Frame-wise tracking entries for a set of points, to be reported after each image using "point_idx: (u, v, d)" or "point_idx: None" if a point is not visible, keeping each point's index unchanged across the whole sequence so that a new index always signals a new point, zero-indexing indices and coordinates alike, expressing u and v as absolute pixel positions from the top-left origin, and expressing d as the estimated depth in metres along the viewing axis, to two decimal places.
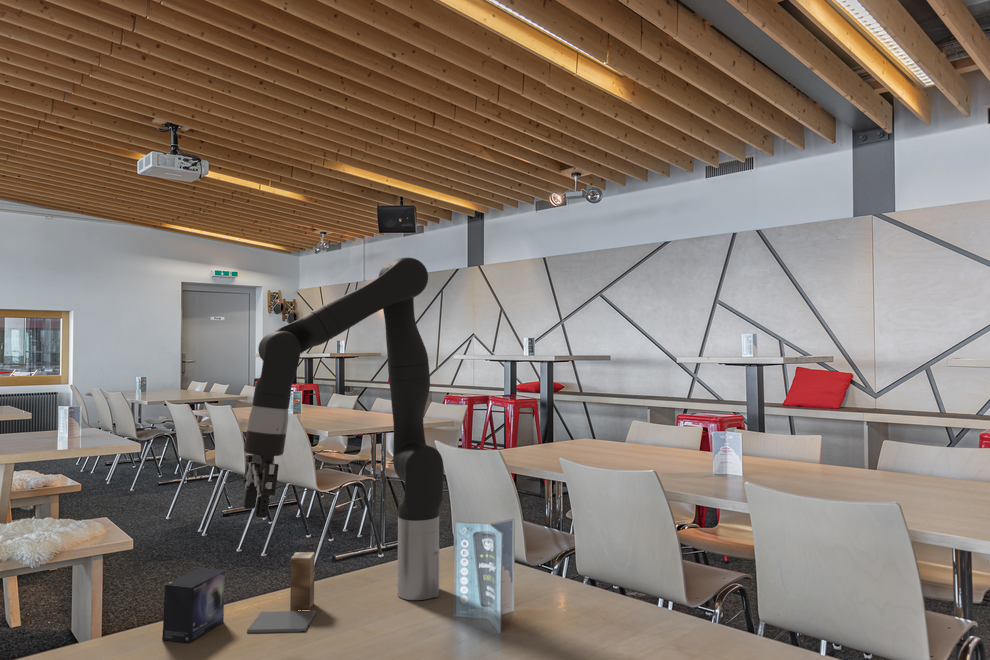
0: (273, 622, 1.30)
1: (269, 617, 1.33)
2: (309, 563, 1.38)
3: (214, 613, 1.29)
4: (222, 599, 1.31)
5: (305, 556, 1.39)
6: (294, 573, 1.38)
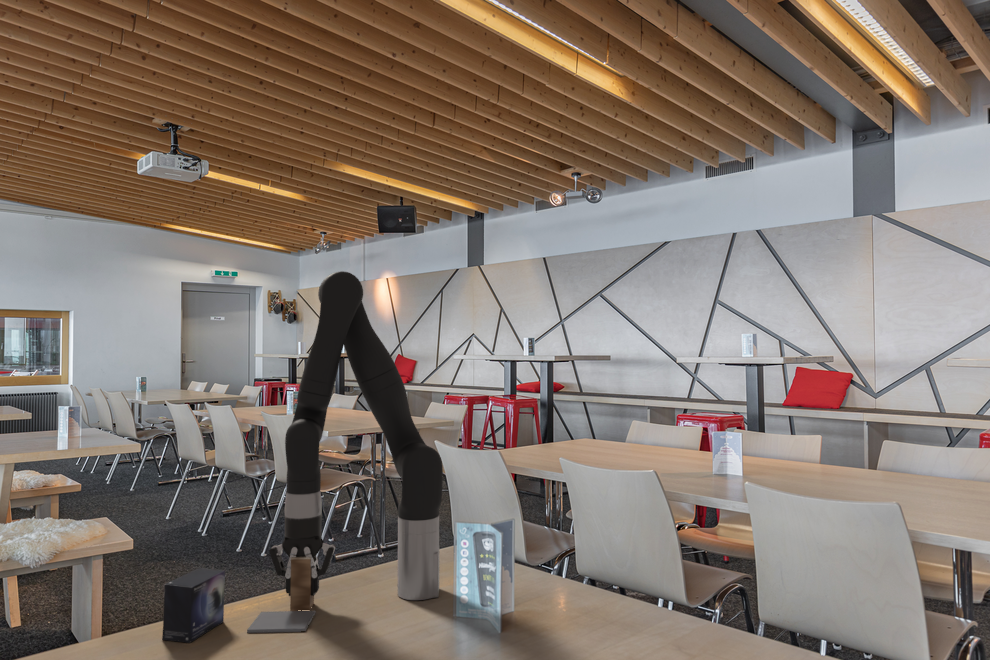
0: (273, 622, 1.30)
1: (269, 617, 1.33)
2: (309, 563, 1.38)
3: (214, 613, 1.29)
4: (222, 599, 1.31)
5: (305, 556, 1.39)
6: (294, 573, 1.38)
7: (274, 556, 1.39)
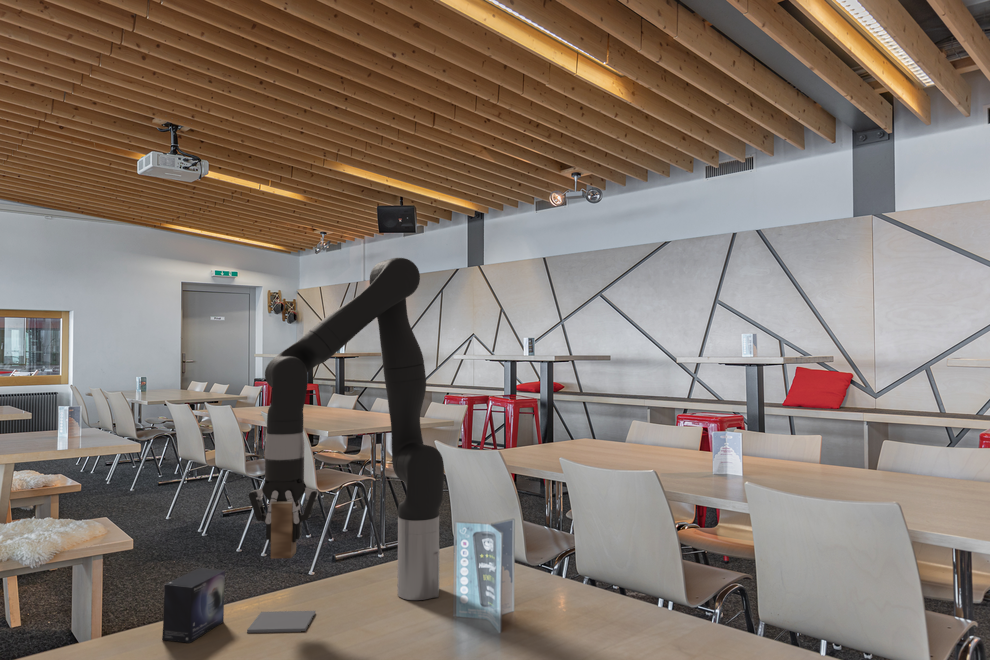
0: (273, 622, 1.30)
1: (269, 617, 1.33)
2: (291, 508, 1.31)
3: (214, 613, 1.29)
4: (222, 599, 1.31)
5: None
6: (274, 518, 1.30)
7: (254, 500, 1.31)
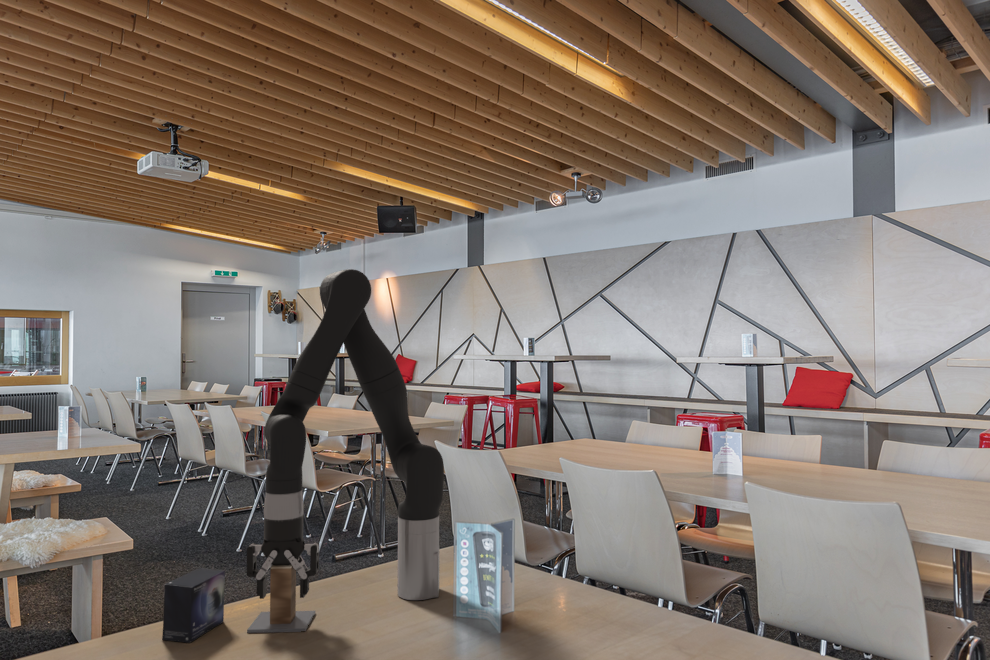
0: None
1: (269, 617, 1.33)
2: (290, 572, 1.30)
3: (214, 613, 1.29)
4: (222, 599, 1.31)
5: (286, 565, 1.31)
6: (274, 583, 1.30)
7: (250, 555, 1.31)
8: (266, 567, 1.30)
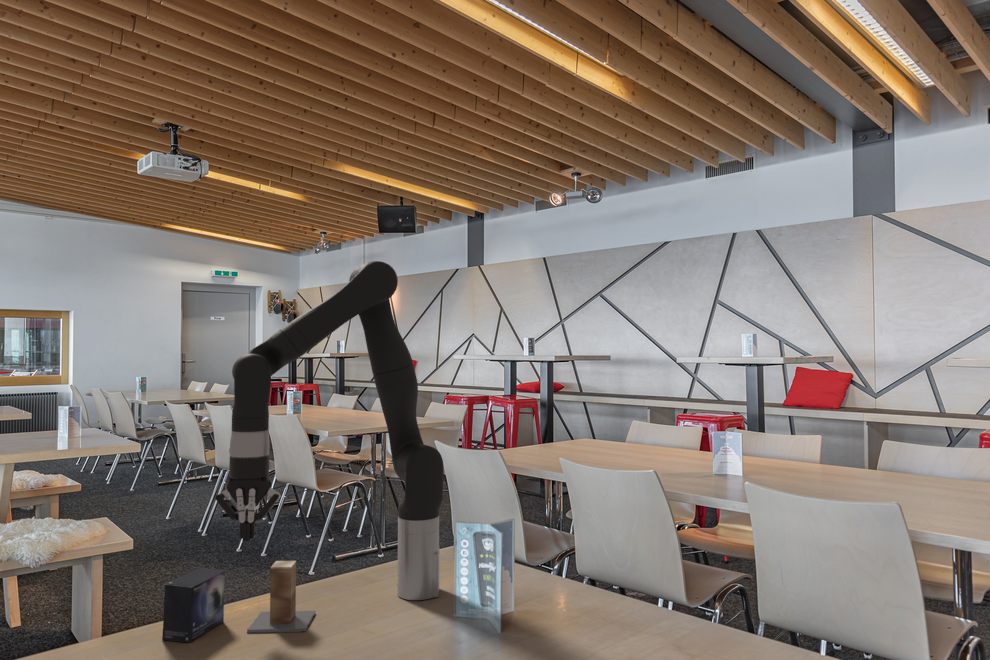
0: None
1: (269, 617, 1.33)
2: (290, 572, 1.30)
3: (214, 613, 1.29)
4: (222, 599, 1.31)
5: (286, 565, 1.31)
6: (274, 583, 1.30)
7: (222, 502, 1.31)
8: (241, 507, 1.30)
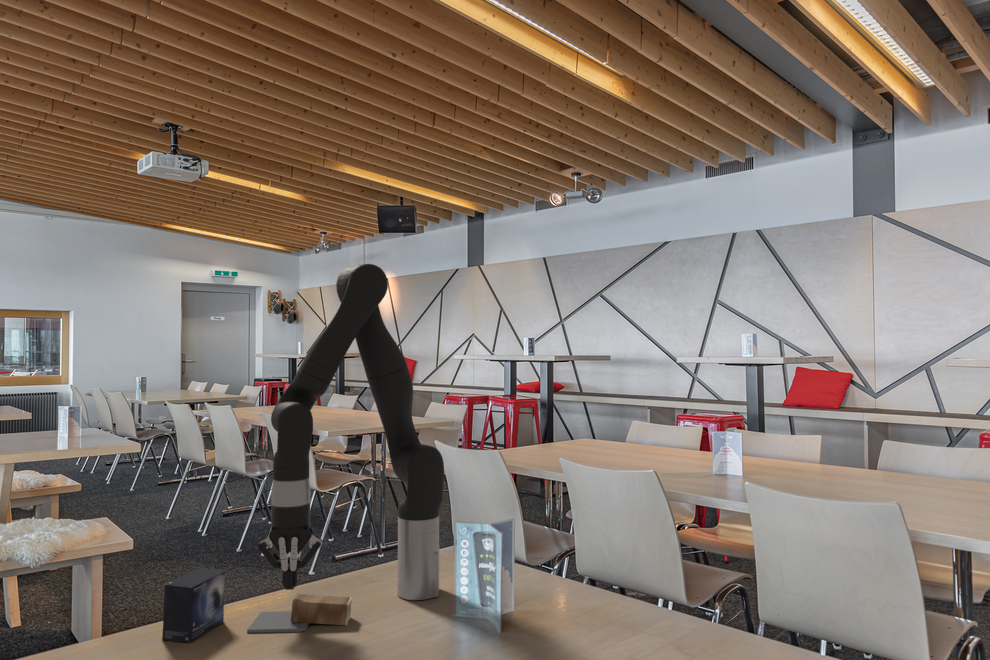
0: (273, 622, 1.30)
1: (269, 617, 1.33)
2: (340, 623, 1.30)
3: (214, 613, 1.29)
4: (222, 599, 1.31)
5: (348, 617, 1.31)
6: (331, 607, 1.30)
7: (264, 550, 1.31)
8: (284, 555, 1.31)
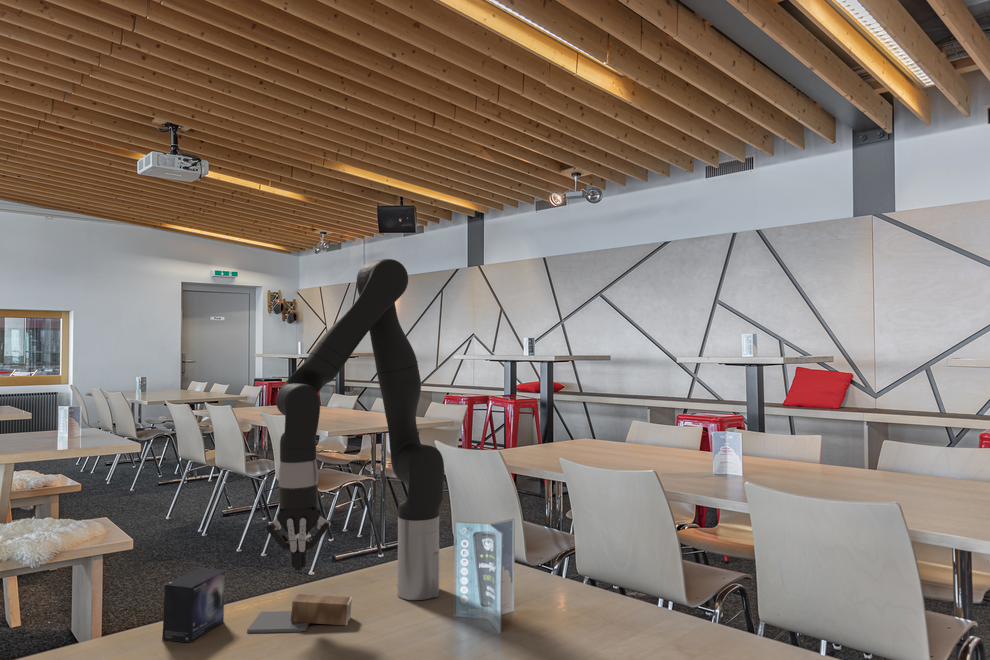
0: (273, 622, 1.30)
1: (269, 617, 1.33)
2: (340, 623, 1.30)
3: (214, 613, 1.29)
4: (222, 599, 1.31)
5: (348, 617, 1.31)
6: (331, 607, 1.30)
7: (273, 532, 1.31)
8: (292, 537, 1.31)
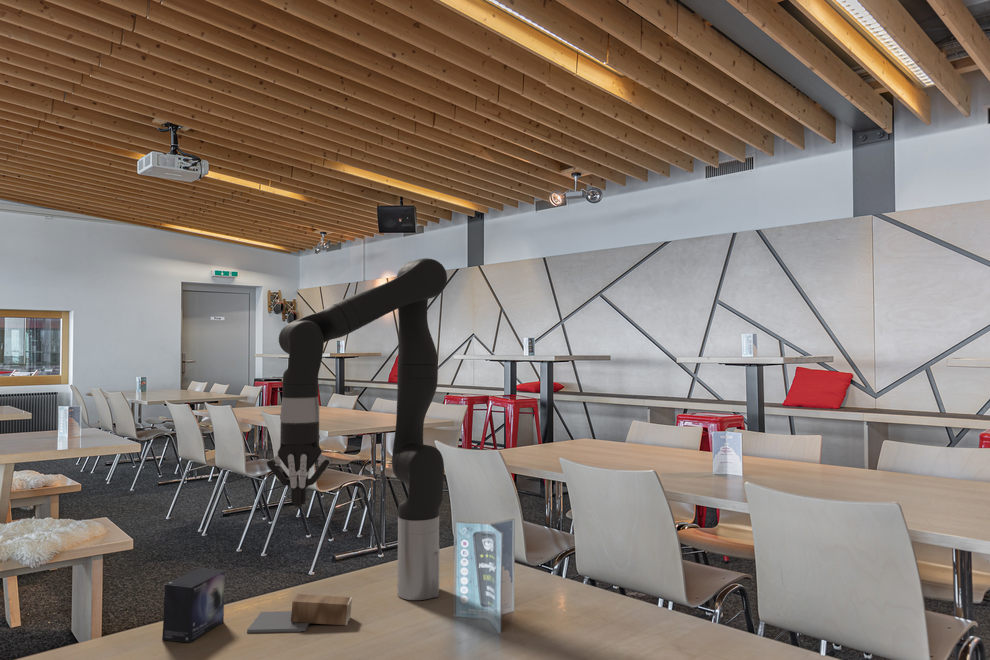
0: (273, 622, 1.30)
1: (269, 617, 1.33)
2: (340, 623, 1.30)
3: (214, 613, 1.29)
4: (222, 599, 1.31)
5: (348, 617, 1.31)
6: (331, 607, 1.30)
7: (274, 467, 1.32)
8: (293, 472, 1.31)
